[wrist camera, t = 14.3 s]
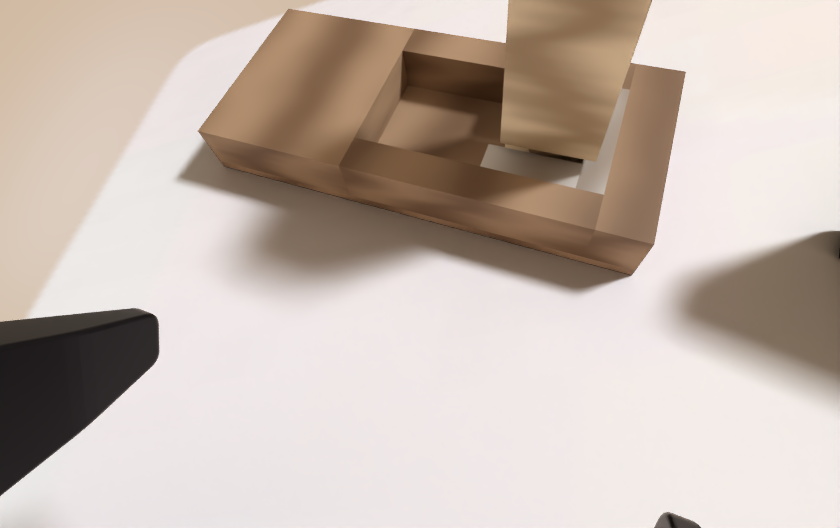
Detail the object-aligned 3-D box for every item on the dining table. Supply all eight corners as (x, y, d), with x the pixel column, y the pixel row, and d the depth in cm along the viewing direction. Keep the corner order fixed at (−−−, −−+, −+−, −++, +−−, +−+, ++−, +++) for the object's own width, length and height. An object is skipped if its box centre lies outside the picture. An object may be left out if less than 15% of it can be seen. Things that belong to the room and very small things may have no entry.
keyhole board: (224, 166, 29) (198, 131, 26) (303, 49, 33) (288, 8, 30) (631, 275, 23) (654, 244, 20) (663, 115, 27) (685, 71, 24)
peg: (493, 184, 25) (509, -162, 12) (516, 119, 27) (552, -240, 14) (585, 205, 24) (716, -158, 11) (602, 135, 26) (731, -244, 13)
